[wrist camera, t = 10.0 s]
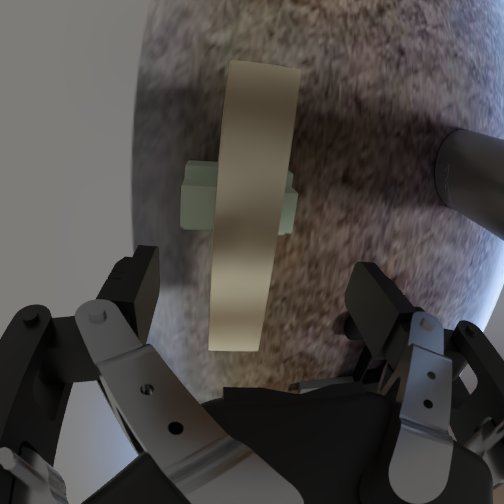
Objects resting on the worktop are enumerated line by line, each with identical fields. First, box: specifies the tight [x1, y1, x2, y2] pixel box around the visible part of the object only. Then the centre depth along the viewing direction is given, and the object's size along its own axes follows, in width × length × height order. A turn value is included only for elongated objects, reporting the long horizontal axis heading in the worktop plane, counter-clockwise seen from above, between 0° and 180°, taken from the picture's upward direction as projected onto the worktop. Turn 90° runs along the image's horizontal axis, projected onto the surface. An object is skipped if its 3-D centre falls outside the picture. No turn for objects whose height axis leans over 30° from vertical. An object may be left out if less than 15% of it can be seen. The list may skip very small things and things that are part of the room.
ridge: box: [180, 160, 298, 235], centre depth 22 cm, size 5×8×4 cm, turn 84°
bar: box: [209, 60, 301, 351], centre depth 18 cm, size 18×4×4 cm, turn 173°
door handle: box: [298, 307, 425, 394], centre depth 35 cm, size 3×20×16 cm
